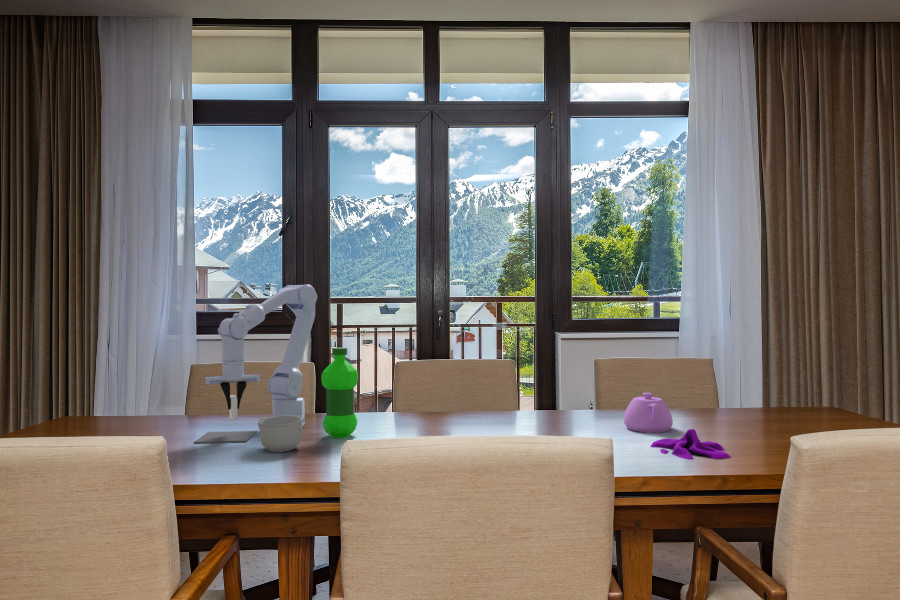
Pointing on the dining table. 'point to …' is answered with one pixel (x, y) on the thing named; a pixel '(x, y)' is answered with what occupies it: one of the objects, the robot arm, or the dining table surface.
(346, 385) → the plastic bottle
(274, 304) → the robot arm
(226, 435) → the mat
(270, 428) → the teacup
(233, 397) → the tile
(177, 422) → the dining table surface
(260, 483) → the dining table surface
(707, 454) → the cloth
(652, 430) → the teapot
